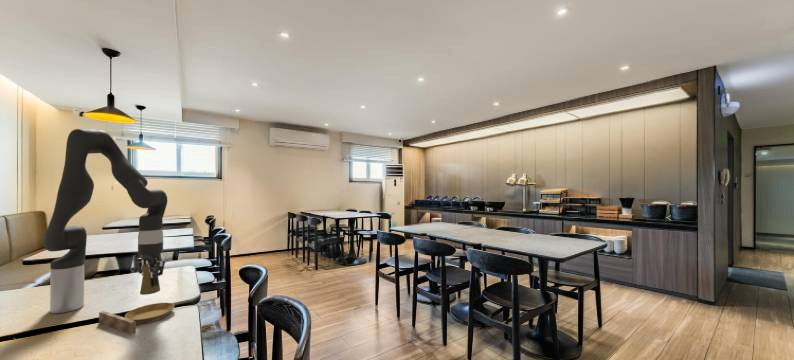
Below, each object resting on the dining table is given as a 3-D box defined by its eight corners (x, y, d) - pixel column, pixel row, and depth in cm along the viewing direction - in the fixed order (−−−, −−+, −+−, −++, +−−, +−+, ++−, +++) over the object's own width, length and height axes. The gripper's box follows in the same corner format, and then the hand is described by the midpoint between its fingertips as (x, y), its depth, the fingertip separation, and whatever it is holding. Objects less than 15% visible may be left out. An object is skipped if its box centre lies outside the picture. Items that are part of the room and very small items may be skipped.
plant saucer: (162, 324, 109) (162, 317, 109) (114, 328, 106) (114, 321, 106) (181, 307, 124) (181, 301, 124) (140, 310, 121) (140, 304, 121)
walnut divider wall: (99, 323, 109) (99, 312, 109) (103, 321, 110) (103, 310, 110) (131, 334, 102) (131, 322, 102) (135, 332, 103) (135, 321, 103)
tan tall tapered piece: (148, 295, 111) (148, 265, 111) (135, 293, 112) (135, 264, 112) (164, 289, 117) (164, 261, 117) (151, 288, 118) (152, 260, 118)
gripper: (128, 241, 114) (127, 286, 114) (151, 245, 109) (150, 292, 109) (150, 238, 121) (150, 280, 121) (173, 241, 116) (172, 285, 116)
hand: (150, 285), depth 115 cm, fingers closed on tan tall tapered piece, 4 cm apart
